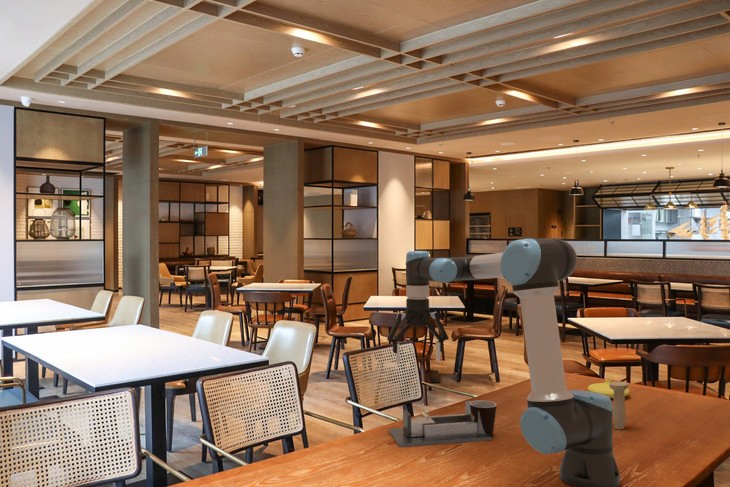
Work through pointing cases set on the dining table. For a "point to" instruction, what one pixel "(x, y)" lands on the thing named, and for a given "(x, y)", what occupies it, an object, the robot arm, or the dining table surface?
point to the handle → (619, 403)
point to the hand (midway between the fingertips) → (418, 362)
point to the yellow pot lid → (604, 389)
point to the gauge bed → (423, 441)
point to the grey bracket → (415, 424)
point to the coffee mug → (484, 414)
